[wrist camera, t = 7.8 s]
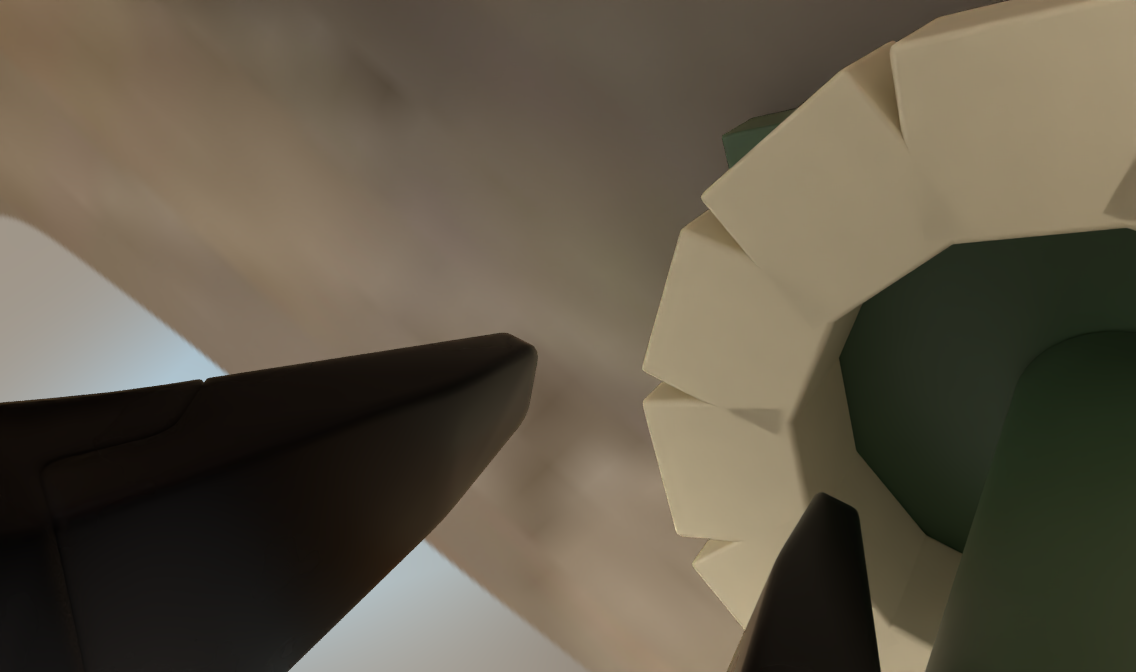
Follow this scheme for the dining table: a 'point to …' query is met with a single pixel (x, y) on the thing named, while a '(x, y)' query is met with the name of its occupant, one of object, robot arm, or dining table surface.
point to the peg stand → (1009, 437)
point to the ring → (870, 275)
